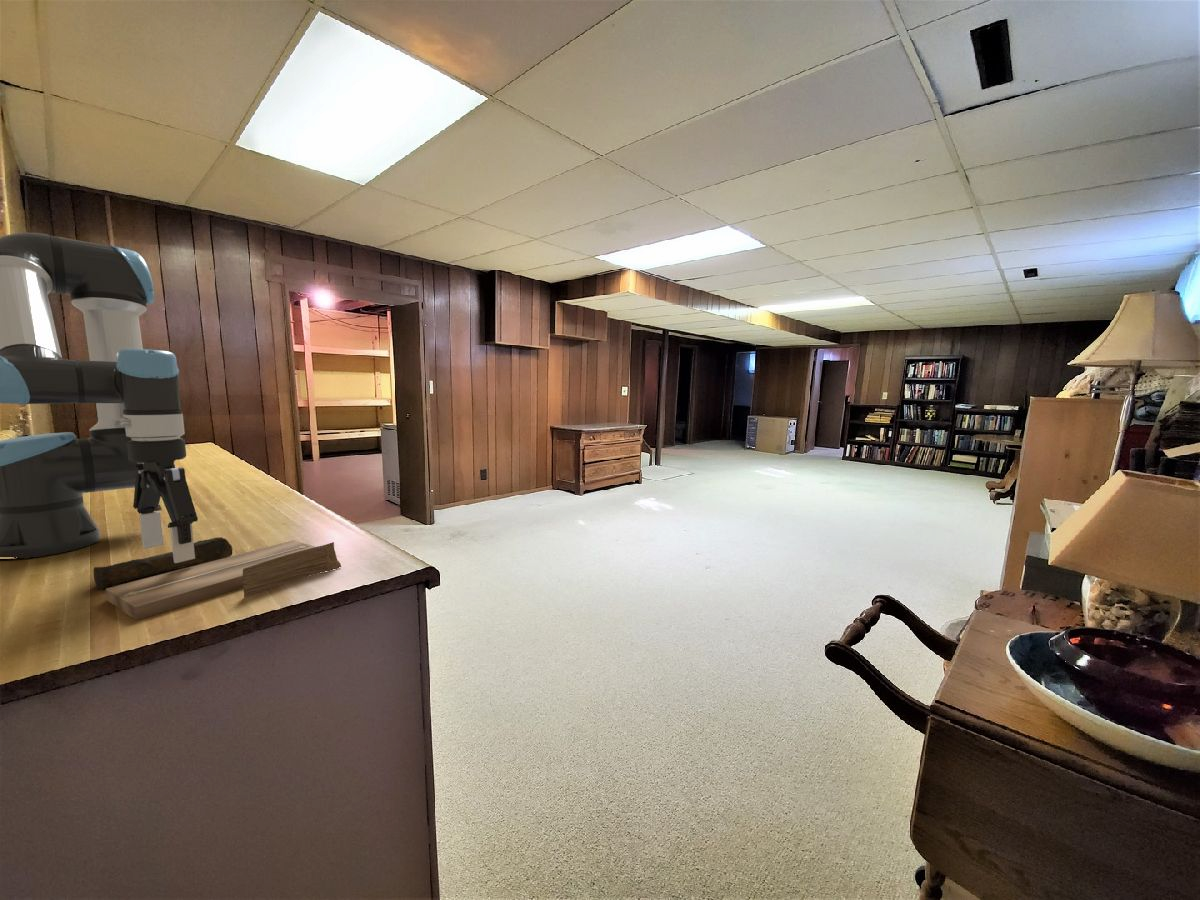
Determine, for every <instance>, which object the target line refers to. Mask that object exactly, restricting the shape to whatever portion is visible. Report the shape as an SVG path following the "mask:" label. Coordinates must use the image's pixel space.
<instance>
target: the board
mask: <svg viewBox="0 0 1200 900" xmlns="http://www.w3.org/2000/svg"><path fill="white" fill-rule="evenodd" d="M314 547H315V546H314V545H311V544H307V543H304V542H301V541H298V540H295V539H293V540H290V541H284V542H282V543H277V544H275V545H274V544H273V545H271V546H267V547H262V548H258V549H255V550H251V551H247V552H246V551H245V552H243V553H239V554H235V555H231V556H229V557H226V558H223V559H219V560H215V561H211V562H207V563H203V564H200V565H196V566H195V565H191V566H187V567H183V568H181V569H180V568H179V569H177V570H176V569H175V570H171V571H167V572H165V573H164V572H163V573H160V574H157V575H153V576H149V577H146V578H142V579H141V578H140V579H137V580H134V581H133V580H132V581H128V582H127V583H122V584H117V585H116V586H109V587H105V596H106V597H105V598H106V601H107V600H108V601H110V602H111V603H112V604H111V603H110V602H109V603H110V604H111V605H113V604H114V605H115V607H116V608H117V607H118V609H119V610H120V609H121V610H120V611H122V612H123V613H124V614H126V615H128V616H129V617H131V618H133V620H135V621H138V620H141V619H145V618H147V617H151V616H154V615H157V614H160V613H164V612H169V611H170V610H173V609H178V608H180V607H183V606H186V605H191V604H192V603H193V604H194V603H196V602H199V601H202V600H206V599H209V598H212V597H215V596H216V597H217V596H219V595H222V594H225V593H229V592H232V591H235V590H238V589H241V588H243V586H242V584H243V569H244V568H247V567H251V566H254V565H256V564H259V563H262V562H265V561H269V560H272V559H275V558H278V557H282V556H285V555H288V554H292V553H295V552H299V551H303V550H306V549H310V548H314ZM108 601H107V602H108ZM114 605H113V606H114Z"/></svg>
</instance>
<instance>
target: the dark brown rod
mask: <svg viewBox="0 0 1200 900" xmlns="http://www.w3.org/2000/svg"><path fill="white" fill-rule="evenodd" d="M194 552H195V559H191V560H187V561H183V562H179V563H174V559H173V551H170V552H166V553H161V554H160V553H159V554H157V555H154V556H153V555H152V556H149V557H145V558H144V557H143V558H136V559H132V560H129V561H123V562H119V563H115V564H114V563H113V564H112V565H107V566H95V567H93V578H94V583H95V586H96V588H97V589H98V588H100V589H102V590H104V589H106V588H109V587H114V586H118V585H119V584H120V583H125V582H130V581H133V580H136V579H137V580H138V579H141V578H144V577H148V576H149V577H150V576H151V575H153V576H154V575H156V574H157V575H158V574H159V573H160V574H162V573H164V572H165V573H166V572H170V571H174V570H176V569H180V568H185V567H190V566H196V565H200V564H203V563H207V562H211V561H215V560H219V559H223V558H227V557H231V556H233V547H232V544H230V542H229V541H228V539H227V538H224V537H222V536H221V537H220V536H219V537H218V536H217V537H214V538H213V537H212V538H210V539H204V540H198V541H196V542H194ZM100 589H99V590H100Z"/></svg>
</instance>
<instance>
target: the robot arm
mask: <svg viewBox="0 0 1200 900" xmlns="http://www.w3.org/2000/svg"><path fill="white" fill-rule="evenodd" d="M51 293H53V294H59V295H67V296H70V301H71V302H70V303H71V305H72V306H73V307H75V308H76V309H78V310H79V311H81V312H82V314H83V320H84V321H83V322H84V328H85V335H86V342H87V348H88V349H87V350H88V357H89V360H82V359H81V360H79V359H63V357H62V352H61V348H60V343H59V339H58V334H57V329H56V325H55V321H54V317H53V312H52V307H51V304H50V300H49V296H48V295H50V294H51ZM154 302H155V290H154V283H153V279H152V275H151V272H150V269H149V266H148V264H147V263H146V261H145V258H143V256H142V255H140V254H139V252H136V251H134V250H131V249H127V248H124V247H123V248H122V247H117V246H115V245H112V244H109V245H108V244H101V243H96V242H90V241H86V240H85V241H84V240H78V239H73V238H67V237H62V236H56V235H55V236H54V235H51V234H47V233H41V232H40V233H39V232H19V233H11V234H7V235H6V234H5V235H4V236H0V404H14V405H41V404H42V405H47V404H49V405H50V404H54V405H55V404H56V405H57V404H95V406H96V414H97V423H96V424H94V425H93V426H92V427H90V428H89V430H88V431H89V432H88V433H89V437H87V438H85V437H84V438H77V435H75V433H74V432H71V431H69V432H68V431H65V432H64V431H62V432H52V433H51V432H50V433H41V434H35V435H27V436H26V435H24V436H19V437H14V438H13V437H11V438H7V439H2V440H0V557H14V558H16V557H17V558H24V559H30V557H33V558H38V557H39V558H40V557H45V556H52V555H56V554H61V553H62V554H63V553H66V552H70V551H71V552H72V551H74V550H78V549H81V548H85V547H88V546H91V545H93V544H97V543H98V542H99V541H100V540H101V533H100V527H98V525H97V523H96V522H95V521H94V519H93V517H92V516H91V514H90V513H89V511H88V510H87V508H86V507H85V503H84V494H86V493H96V492H106V491H114V490H123V489H125V490H126V489H133V488H134V493H133V495H134V496H133V503H132V504H133V505H132V507H133V509H135V510H136V511H137V513H138V514H139V515H138V516H139V524H140V533H141V540H142V541H141V542H142V549H143V550H147V549H151V548H155V547H160V546H164V537H163V536H164V535H163V526H162V519H161V517H162V516H161V511H162V510H163V509H162V506H161V504H160V502H161V501H160V500H161V499H162V502H163V504H164V507H165V509H166V511H167V514H168V516H169V519H170V521H171V522H168V525H167V528H170V530H169V531H170V540H171V548H172V552H173V559H174V563H179V562H183V561H187V560H191V559H195V552H194V543H195V542H194V534H193V523H195V522H198V519H199V518H198V517H199V516H198V515H197V512H196V509H195V506H194V505H195V504H194V502H193V501H194V500H193V499H192V495H191V493H190V489H189V486H188V482H187V477H186V469H185V468H184V467H176V465H175V461H180V460H184V459H185V458H186V457H187V448H186V439H184V438H183V437H182V436H183V435H185V424H184V423H185V422H184V414H183V411H182V403H181V402H182V401H181V391H180V378H179V377H180V376H179V374H180V369H179V367H178V363H177V362H178V361H177V357H176V355H175V353H173V352H171V351H168V350H161V349H160V350H159V349H158V350H157V349H146V348H143V347H144V346H143V339H142V331H141V325H140V324H141V323H140V316H142V315H143V314H145V312H147V311H148V308H147V306H148V305H152V304H153V303H154Z"/></svg>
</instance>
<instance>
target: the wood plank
mask: <svg viewBox="0 0 1200 900" xmlns="http://www.w3.org/2000/svg"><path fill="white" fill-rule="evenodd" d="M339 567H341V568H342V565H341V563H340V561H339V560H338V557H337V553H336V550H335V542H334V541H332V542H329V543H327V544H323V545H320V546H314V548H310V549H306V550H303V551H299V552H295V553H292V554H288V555H285V556H282V557H278V558H275V559H272V560H269V561H265V562H262V563H259V564H256V565H254V566H251V567H247V568H244V569H243V584H242V586H243V587H242V588H243V597H244V598H246V597H248V596H251V595H255V594H257V593H260V592H263V591H267V590H268V589H272V588H275V587H278V586H281V585H284V584H287V583H289V582H292V581H297V580H300V579H305V578H308V577H307V576H309V575H312V576H314V575H313V574H315V575H318V574H317V573H319V574H321V573H320V572H325V571H329V572H331V571H330V570H333V569H336V570H338V569H337V568H339ZM339 569H340V568H339ZM333 571H334V570H333ZM325 573H326V572H325ZM304 577H305V578H304ZM309 577H310V576H309Z"/></svg>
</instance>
